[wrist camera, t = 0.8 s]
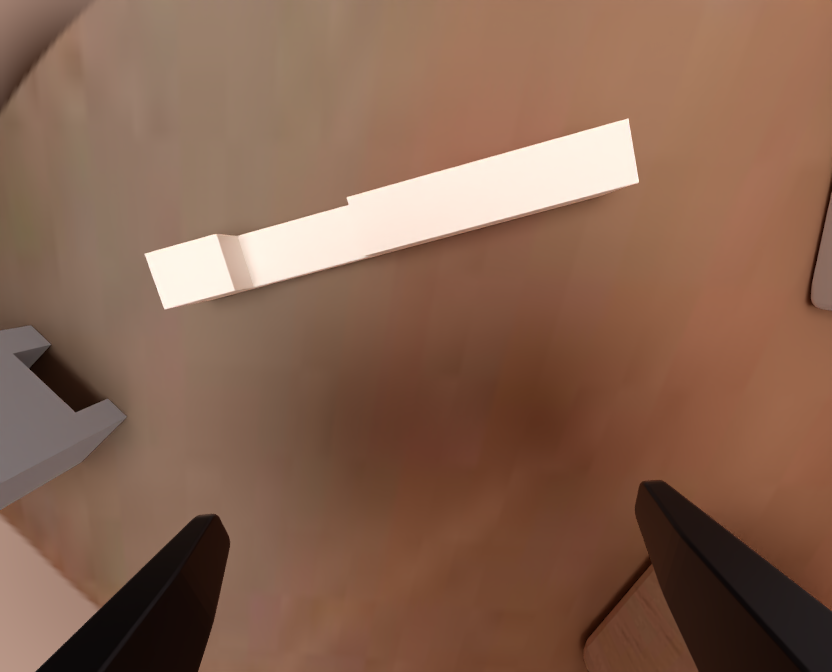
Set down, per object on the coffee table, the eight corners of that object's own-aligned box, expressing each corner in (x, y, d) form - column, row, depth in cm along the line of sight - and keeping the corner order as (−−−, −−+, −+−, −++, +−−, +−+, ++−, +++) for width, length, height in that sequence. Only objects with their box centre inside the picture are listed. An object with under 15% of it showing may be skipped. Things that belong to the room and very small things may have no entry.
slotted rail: (600, 195, 21) (639, 182, 17) (210, 300, 23) (164, 309, 19) (591, 144, 21) (628, 118, 17) (195, 254, 22) (144, 253, 18)
